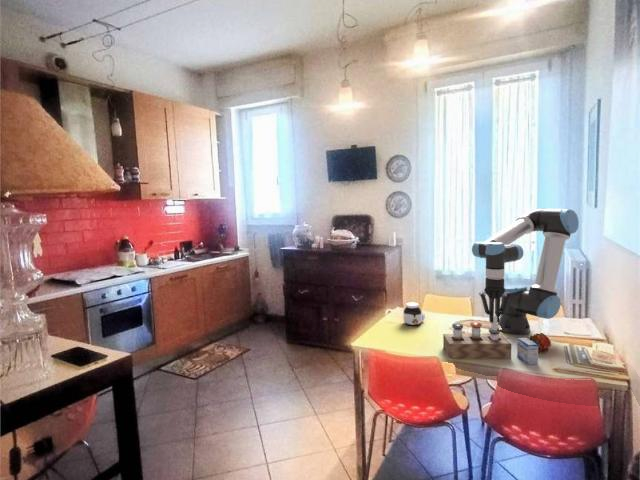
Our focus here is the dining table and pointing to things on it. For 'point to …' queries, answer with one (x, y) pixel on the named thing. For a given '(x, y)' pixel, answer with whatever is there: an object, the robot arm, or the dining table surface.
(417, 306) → the spread jar
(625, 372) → the dining table surface
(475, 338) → the plunger
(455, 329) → the plunger
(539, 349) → the dragon fruit
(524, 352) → the medicine box
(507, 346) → the block
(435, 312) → the dining table surface
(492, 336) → the plunger
